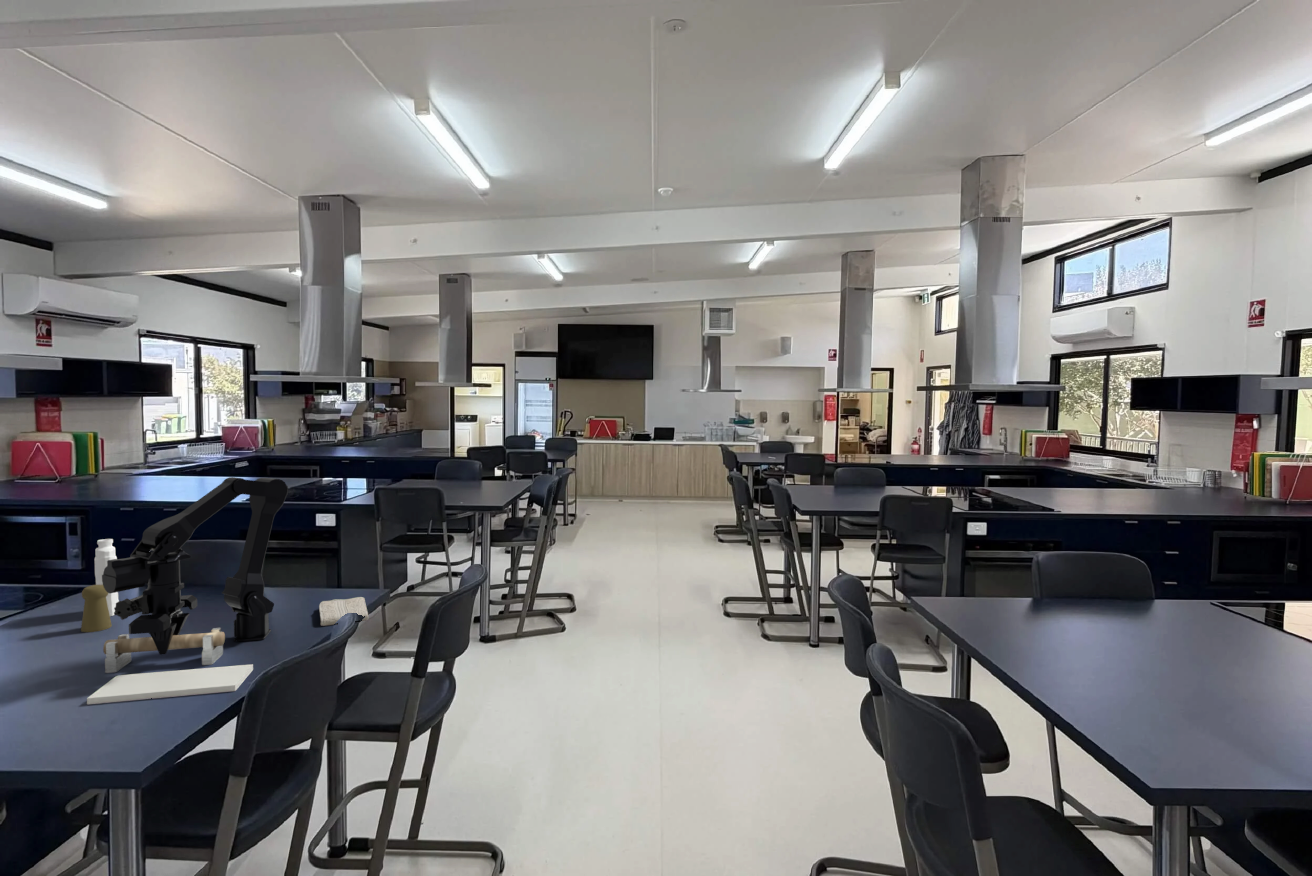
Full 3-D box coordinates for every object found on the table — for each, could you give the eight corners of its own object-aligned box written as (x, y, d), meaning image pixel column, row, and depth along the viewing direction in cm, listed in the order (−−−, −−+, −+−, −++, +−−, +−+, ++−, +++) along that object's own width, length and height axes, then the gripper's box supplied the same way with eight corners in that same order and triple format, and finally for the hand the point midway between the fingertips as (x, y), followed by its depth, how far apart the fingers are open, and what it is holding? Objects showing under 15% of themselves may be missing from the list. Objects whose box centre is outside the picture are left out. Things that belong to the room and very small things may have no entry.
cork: (93, 633, 164) (92, 589, 164) (74, 631, 166) (72, 587, 165) (117, 625, 170) (116, 583, 170) (98, 623, 172) (97, 581, 171)
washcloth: (364, 604, 192) (364, 593, 192) (370, 622, 177) (370, 610, 176) (318, 609, 187) (318, 599, 186) (320, 628, 171) (320, 617, 171)
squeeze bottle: (96, 618, 175) (121, 614, 179) (94, 544, 174) (118, 541, 178) (93, 610, 182) (117, 606, 186) (91, 538, 181) (115, 536, 185)
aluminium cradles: (223, 653, 152) (222, 627, 152) (212, 664, 146) (211, 636, 146) (120, 661, 147) (119, 634, 146) (105, 672, 141) (104, 644, 140)
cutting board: (253, 669, 143) (252, 664, 143) (235, 690, 133) (235, 684, 133) (117, 681, 137) (117, 675, 137) (87, 704, 126) (86, 698, 126)
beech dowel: (225, 642, 150) (224, 629, 150) (220, 647, 148) (219, 634, 147) (110, 651, 145) (110, 637, 144) (103, 656, 142) (103, 642, 142)
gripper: (142, 573, 152) (143, 640, 153) (97, 596, 134) (99, 671, 135) (197, 570, 155) (199, 636, 156) (161, 592, 137) (163, 666, 138)
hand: (166, 651), depth 146 cm, fingers closed on beech dowel, 3 cm apart
